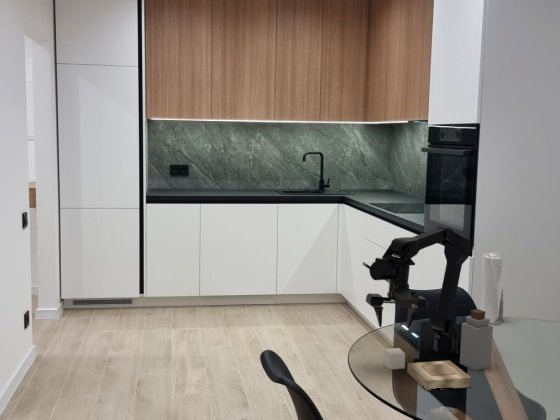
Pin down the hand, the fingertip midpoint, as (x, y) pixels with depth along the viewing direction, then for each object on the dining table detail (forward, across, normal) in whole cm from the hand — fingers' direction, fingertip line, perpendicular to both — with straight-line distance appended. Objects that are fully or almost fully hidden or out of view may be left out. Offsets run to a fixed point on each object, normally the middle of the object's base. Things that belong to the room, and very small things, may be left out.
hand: (394, 327), depth 215 cm
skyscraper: (+7, +53, +40) cm, 67 cm away
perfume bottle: (+11, +28, -2) cm, 30 cm away
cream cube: (+13, +1, 0) cm, 13 cm away
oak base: (+12, +11, -12) cm, 21 cm away
